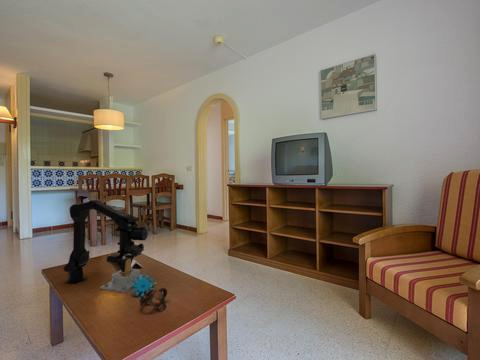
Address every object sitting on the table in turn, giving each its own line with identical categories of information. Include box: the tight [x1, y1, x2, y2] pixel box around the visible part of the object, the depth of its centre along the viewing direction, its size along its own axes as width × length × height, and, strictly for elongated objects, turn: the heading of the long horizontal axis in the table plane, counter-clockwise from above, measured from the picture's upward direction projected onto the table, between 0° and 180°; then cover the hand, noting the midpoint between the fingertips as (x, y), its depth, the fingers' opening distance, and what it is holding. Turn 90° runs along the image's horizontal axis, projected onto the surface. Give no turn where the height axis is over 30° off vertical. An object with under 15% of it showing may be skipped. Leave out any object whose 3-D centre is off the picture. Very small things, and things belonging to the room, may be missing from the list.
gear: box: [131, 273, 157, 298], centre depth 112 cm, size 11×6×10 cm
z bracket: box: [131, 258, 144, 269], centre depth 147 cm, size 12×25×6 cm
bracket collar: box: [99, 268, 148, 294], centre depth 122 cm, size 14×18×6 cm
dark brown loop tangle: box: [138, 287, 168, 313], centre depth 100 cm, size 12×10×8 cm
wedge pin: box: [121, 258, 132, 274], centre depth 121 cm, size 3×3×8 cm
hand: (125, 270), depth 121 cm, fingers closed on wedge pin, 3 cm apart
